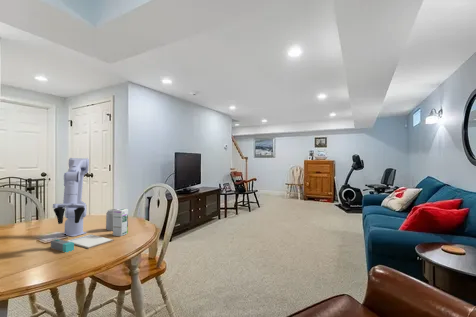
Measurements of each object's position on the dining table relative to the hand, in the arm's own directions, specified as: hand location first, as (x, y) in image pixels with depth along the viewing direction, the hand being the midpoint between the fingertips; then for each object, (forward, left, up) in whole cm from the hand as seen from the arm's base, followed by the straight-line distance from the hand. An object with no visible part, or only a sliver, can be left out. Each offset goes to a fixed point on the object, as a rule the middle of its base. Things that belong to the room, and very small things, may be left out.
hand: (68, 223), depth 120 cm
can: (-10, +32, -12) cm, 35 cm away
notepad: (0, +11, -12) cm, 16 cm away
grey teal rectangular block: (-1, -2, -12) cm, 12 cm away
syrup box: (+3, +27, -12) cm, 29 cm away
